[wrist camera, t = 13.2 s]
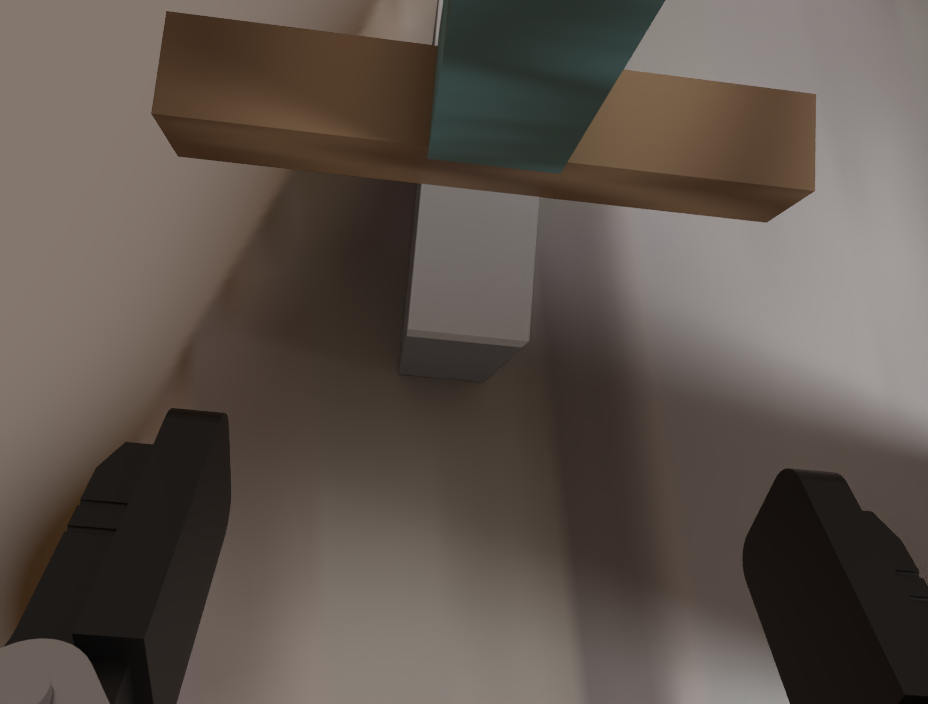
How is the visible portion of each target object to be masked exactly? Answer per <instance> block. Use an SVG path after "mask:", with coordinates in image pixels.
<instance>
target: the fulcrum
mask: <svg viewBox="0 0 928 704" xmlns="http://www.w3.org/2000/svg"><path fill="white" fill-rule="evenodd" d="M442 6H443V0H438V2H437V10H436V18H435V26H434V34H433V42H432V45H434V46H438V36H439V28H440V21H441V14H442ZM538 208H539V197H535V196H526V195H517V194H508V193H500V192H491V191H482V190H473V189H464V188H455V187H446V186H437V185H428V184H419V183H417V188H416V199H415V209H414V220H413V230H412V240H411V251H410V261H409V272H408V282H407V293H406V303H405V314H404V324H403V334H402V345H401V355H400V366H399V374H400V375H411V376H421V377H432V378H442V379H453V380H463V381H474V382H484V381H485V380H486V379H487V378H488V377H490V376H491V375H492V374H493V373H494V372H495V371H496V370H497V369H499V368H500V367H501V366H502V365H503V364H504V363H505V362H506V361H508V360H509V359H510V358H511V357H512V356H513V355H514V354H515V353H516V352H518V351H519V350H520V349H521V348H522V347H523V346H524V345H525V344H527V343H528V342H529V336H530V321H531V307H532V293H533V279H534V265H535V251H536V237H537V222H538Z"/></svg>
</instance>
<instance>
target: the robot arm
mask: <svg viewBox="0 0 928 704" xmlns="http://www.w3.org/2000/svg"><path fill="white" fill-rule="evenodd" d="M230 504H231V472H230V446H229V423H228V417H227V414H226V413H218V412H208V411H197V410H187V409H176V408H172V409H170V410H169V411H168V413H167V414H166V416H165V419H164V421H163V423H162V426H161V428H160V430H159V433H158V435H157V437H156V440H155V442H154V444H142V443H131V442H125V443H124V444H123V445H122V446H121V447H119V448H118V449H117V450H116V451H115V452H114V453H112V454H111V455H110V456H109V457H108V458H107V459H106V460H105V461H103V462H102V463H101V464H100V465H99V466H98V467H97V468H96V469H95V471H94V473H93V475H92V477H91V479H90V481H89V483H88V485H87V487H86V489H85V491H84V493H83V495H82V497H81V502H80V505H78V506H77V507H76V509H75V511H74V513H73V515H72V517H71V519H70V521H69V523H68V529H67V532H64V533H63V535H62V538H61V540H60V541H59V544H58V545H57V547H56V549H55V552H54V553H53V555H52V557H51V559H50V561H49V563H48V565H47V568H46V569H45V572H44V574H43V575H42V578H41V580H40V582H39V584H38V586H37V588H36V590H35V592H34V594H33V596H32V598H31V600H30V602H29V604H28V606H27V608H26V610H25V612H24V614H23V616H22V618H21V620H20V622H19V624H18V626H17V628H16V629H15V631H14V633H13V635H12V636H11V638H10V639H9V641H8V642H7V643H6V645H5V646H4V647H3V648H0V704H176V703H177V700H178V696H179V693H180V689H181V686H182V682H183V679H184V675H185V672H186V669H187V665H188V662H189V658H190V655H191V651H192V648H193V644H194V641H195V637H196V634H197V631H198V627H199V624H200V620H201V617H202V613H203V610H204V606H205V603H206V599H207V596H208V592H209V589H210V586H211V582H212V579H213V575H214V572H215V568H216V565H217V561H218V558H219V554H220V551H221V548H222V544H223V541H224V537H225V533H226V529H227V525H228V519H229V512H230ZM743 571H744V576H745V579H746V582H747V585H748V588H749V591H750V594H751V596H752V599H753V602H754V605H755V608H756V610H757V613H758V616H759V619H760V621H761V624H762V627H763V630H764V633H765V635H766V638H767V641H768V644H769V647H770V649H771V652H772V655H773V658H774V660H775V663H776V666H777V669H778V672H779V674H780V677H781V680H782V683H783V686H784V688H785V691H786V694H787V697H788V699H789V702H790V704H928V586H927V584H926V583H925V581H924V579H923V578H919V570H918V569H917V567H916V565H915V563H914V562H913V560H912V558H911V557H910V555H909V553H908V551H907V550H906V548H905V546H904V544H903V543H902V541H901V540H900V539H899V538H898V537H897V536H896V535H895V534H894V533H893V532H892V531H891V530H890V529H889V528H888V527H887V526H886V525H885V524H884V523H883V522H882V521H881V520H880V519H879V518H878V517H877V516H876V515H875V514H874V513H873V512H870V511H862V510H861V508H860V506H859V504H858V502H857V500H856V499H855V497H854V495H853V493H852V491H851V489H850V488H849V486H848V484H847V482H846V481H845V479H844V478H843V477H842V476H841V475H839V474H837V473H831V472H821V471H810V470H800V469H784V470H782V471H781V472H780V473H779V474H778V475H777V477H776V479H775V481H774V483H773V485H772V487H771V489H770V491H769V493H768V495H767V497H766V499H765V501H764V502H763V504H762V506H761V508H760V510H759V512H758V514H757V516H756V518H755V520H754V522H753V524H752V526H751V528H750V530H749V532H748V534H747V537H746V539H745V543H744V548H743Z"/></svg>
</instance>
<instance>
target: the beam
mask: <svg viewBox="0 0 928 704" xmlns="http://www.w3.org/2000/svg"><path fill="white" fill-rule="evenodd" d="M664 1H665V0H443V6H442V14H441V21H440V28H439V36H438V46H434V45H427V44H419V43H411V42H403V41H395V40H387V39H380V38H372V37H364V36H356V35H348V34H341V33H333V32H325V31H317V30H309V29H301V28H294V27H286V26H278V25H270V24H261V23H254V22H246V21H239V20H231V19H223V18H215V17H207V16H200V15H192V14H183V13H176V12H168V11H167V12H166V18H165V25H164V32H163V39H162V46H161V52H160V59H159V66H158V72H157V79H156V86H155V93H154V99H153V106H152V115H153V117H154V119H155V120H156V122H157V123H158V125H159V127H160V128H161V130H162V131H163V133H164V134H165V136H166V138H167V139H168V141H169V143H170V144H171V146H172V147H173V149H174V151H175V152H176V154H177V155H178V156H179V157H188V158H197V159H206V160H215V161H223V162H233V163H241V164H251V165H259V166H268V167H277V168H286V169H295V170H304V171H313V172H321V173H330V174H339V175H348V176H357V177H366V178H375V179H384V180H393V181H402V182H410V183H419V184H428V185H437V186H446V187H455V188H464V189H473V190H482V191H491V192H500V193H508V194H517V195H526V196H535V197H544V198H553V199H562V200H571V201H580V202H589V203H597V204H606V205H615V206H624V207H633V208H642V209H651V210H660V211H669V212H678V213H686V214H695V215H704V216H713V217H722V218H731V219H740V220H749V221H758V222H768V221H770V220H771V219H773V218H774V217H776V216H777V215H779V214H780V213H782V212H783V211H785V210H786V209H788V208H789V207H791V206H793V205H794V204H796V203H797V202H799V201H800V200H802V199H803V198H805V197H806V196H808V195H809V194H811V193H812V192H814V191H815V128H816V94H810V93H802V92H794V91H787V90H779V89H771V88H763V87H755V86H747V85H740V84H732V83H724V82H716V81H708V80H700V79H693V78H685V77H677V76H669V75H661V74H653V73H646V72H638V71H630V70H623V69H624V68H625V66H626V64H627V63H628V61H629V59H630V58H631V56H632V54H633V53H634V51H635V49H636V48H637V46H638V45H639V43H640V41H641V40H642V38H643V36H644V35H645V33H646V31H647V30H648V28H649V26H650V25H651V23H652V21H653V20H654V18H655V16H656V15H657V13H658V11H659V10H660V8H661V6H662V5H663V3H664Z"/></svg>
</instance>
